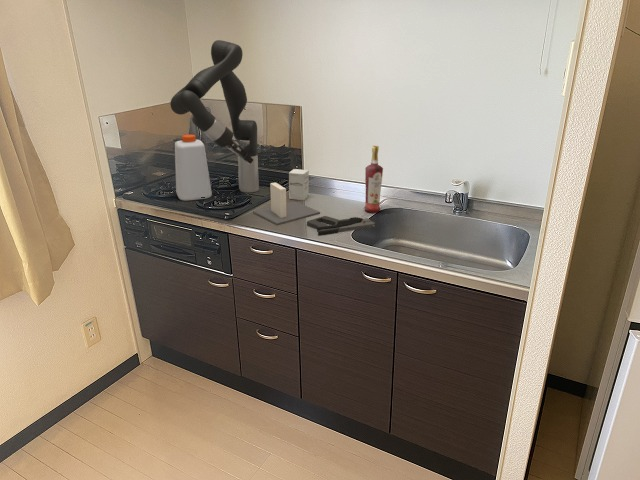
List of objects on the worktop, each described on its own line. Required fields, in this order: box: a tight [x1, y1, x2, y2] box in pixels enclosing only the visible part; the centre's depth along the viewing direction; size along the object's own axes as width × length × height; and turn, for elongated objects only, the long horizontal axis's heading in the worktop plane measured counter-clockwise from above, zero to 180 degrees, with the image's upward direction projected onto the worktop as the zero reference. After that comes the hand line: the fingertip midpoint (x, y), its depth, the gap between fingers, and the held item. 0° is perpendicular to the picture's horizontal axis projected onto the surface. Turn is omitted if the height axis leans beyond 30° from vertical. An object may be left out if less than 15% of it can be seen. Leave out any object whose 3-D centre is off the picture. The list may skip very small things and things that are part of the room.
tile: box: [269, 182, 287, 218], centre depth 209 cm, size 10×3×12 cm, turn 29°
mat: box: [252, 200, 321, 226], centre depth 214 cm, size 18×22×1 cm
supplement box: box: [288, 168, 310, 201], centre depth 231 cm, size 7×7×13 cm
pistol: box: [306, 215, 377, 237], centre depth 202 cm, size 2×26×15 cm
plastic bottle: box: [174, 134, 213, 202], centre depth 230 cm, size 15×15×28 cm
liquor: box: [363, 145, 384, 214], centre depth 212 cm, size 7×7×28 cm
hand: (249, 160), depth 200 cm, fingers open, 3 cm apart
